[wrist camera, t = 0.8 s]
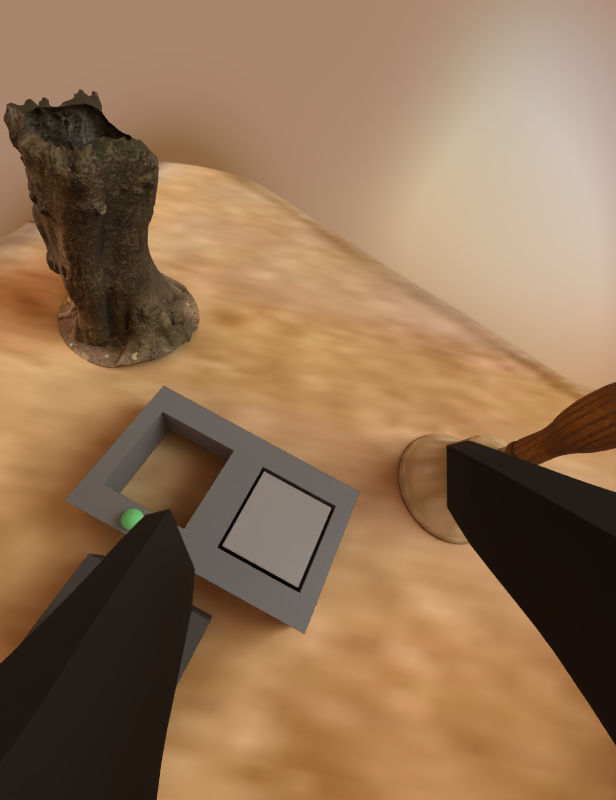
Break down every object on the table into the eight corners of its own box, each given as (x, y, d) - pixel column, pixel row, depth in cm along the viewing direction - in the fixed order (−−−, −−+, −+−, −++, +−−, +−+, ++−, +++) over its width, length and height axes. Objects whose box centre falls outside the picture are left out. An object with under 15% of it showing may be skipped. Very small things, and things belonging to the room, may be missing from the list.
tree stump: (94, 256, 28) (1, 34, 16) (211, 287, 29) (203, 102, 18) (32, 351, 23) (-160, 135, 12) (175, 383, 25) (132, 217, 13)
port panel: (294, 625, 19) (306, 635, 16) (85, 509, 20) (61, 499, 17) (344, 500, 23) (361, 490, 20) (170, 406, 24) (162, 382, 21)
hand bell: (377, 486, 24) (577, 373, 11) (431, 415, 28) (629, 266, 14) (468, 570, 23) (836, 570, 9) (512, 484, 27) (815, 393, 13)
